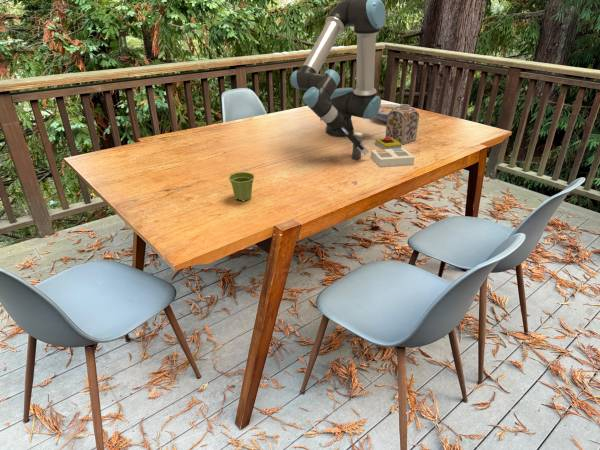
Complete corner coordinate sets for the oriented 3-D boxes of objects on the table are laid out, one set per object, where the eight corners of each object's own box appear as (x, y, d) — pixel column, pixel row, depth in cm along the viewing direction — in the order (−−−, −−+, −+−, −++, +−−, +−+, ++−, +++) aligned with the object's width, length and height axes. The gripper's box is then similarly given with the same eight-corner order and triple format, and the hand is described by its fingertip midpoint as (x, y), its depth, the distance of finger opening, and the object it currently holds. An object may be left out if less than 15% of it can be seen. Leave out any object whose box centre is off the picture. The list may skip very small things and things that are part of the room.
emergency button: (389, 133, 212) (405, 143, 199) (388, 142, 214) (404, 151, 202) (373, 135, 209) (388, 145, 197) (372, 143, 211) (387, 153, 199)
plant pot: (231, 192, 160) (229, 172, 156) (255, 192, 161) (254, 171, 156) (229, 204, 152) (227, 182, 148) (255, 203, 153) (254, 181, 148)
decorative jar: (402, 145, 208) (407, 109, 199) (384, 139, 216) (388, 104, 207) (416, 140, 215) (422, 105, 206) (398, 134, 223) (402, 100, 214)
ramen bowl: (369, 114, 256) (371, 101, 252) (407, 116, 253) (409, 102, 249) (370, 126, 234) (371, 112, 230) (411, 128, 232) (413, 114, 228)
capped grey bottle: (350, 157, 194) (352, 132, 188) (358, 156, 194) (361, 131, 188) (353, 160, 190) (355, 134, 184) (361, 159, 191) (363, 134, 185)
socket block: (370, 157, 194) (371, 149, 192) (402, 155, 196) (403, 147, 194) (379, 167, 183) (380, 158, 181) (413, 164, 186) (414, 156, 184)
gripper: (320, 118, 188) (352, 150, 200) (331, 130, 173) (365, 164, 185) (332, 105, 187) (364, 138, 198) (344, 116, 172) (377, 152, 183)
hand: (364, 151), depth 191 cm, fingers open, 5 cm apart
